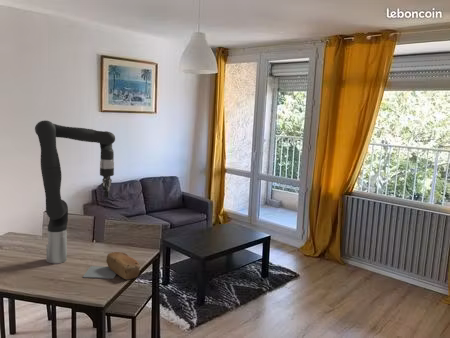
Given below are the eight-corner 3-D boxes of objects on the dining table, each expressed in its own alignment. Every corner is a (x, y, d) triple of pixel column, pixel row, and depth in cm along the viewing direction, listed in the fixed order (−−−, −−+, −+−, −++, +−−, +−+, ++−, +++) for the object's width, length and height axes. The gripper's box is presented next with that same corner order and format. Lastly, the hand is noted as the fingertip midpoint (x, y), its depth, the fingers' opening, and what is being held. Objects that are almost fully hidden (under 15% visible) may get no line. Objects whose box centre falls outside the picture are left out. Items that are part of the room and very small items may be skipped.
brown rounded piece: (104, 265, 196) (123, 281, 182) (105, 252, 195) (125, 267, 181) (122, 262, 204) (142, 277, 190) (124, 249, 203) (144, 263, 189)
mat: (82, 277, 184) (82, 276, 184) (91, 267, 197) (91, 266, 197) (113, 278, 185) (113, 277, 185) (119, 268, 197) (119, 267, 197)
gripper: (103, 165, 217) (103, 194, 219) (96, 168, 204) (96, 199, 206) (116, 165, 217) (116, 195, 220) (110, 169, 204) (110, 200, 207)
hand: (106, 197), depth 213 cm, fingers closed
